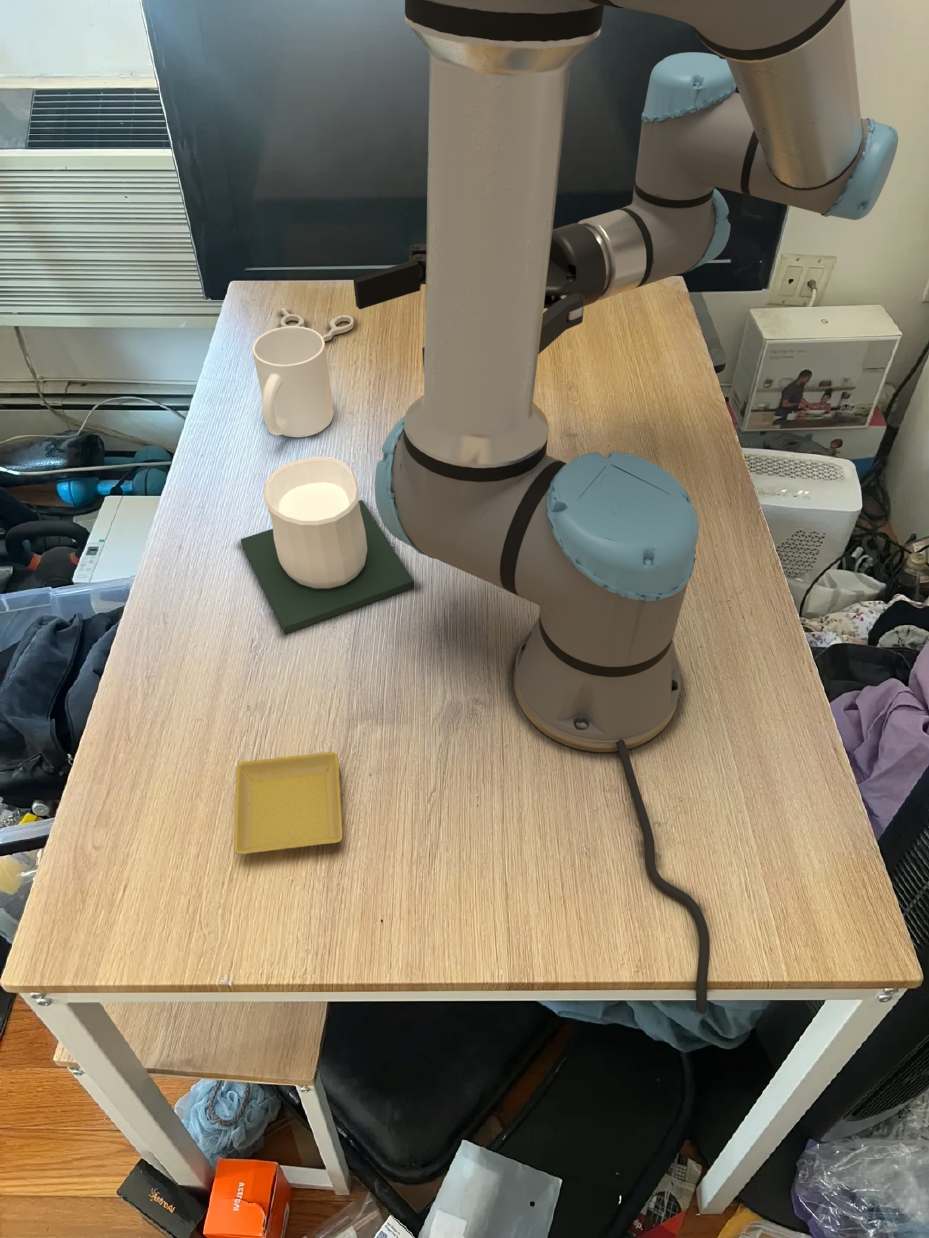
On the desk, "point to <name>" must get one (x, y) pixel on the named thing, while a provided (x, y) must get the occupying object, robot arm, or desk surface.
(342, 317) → the scissors
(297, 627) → the cup mat
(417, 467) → the robot arm
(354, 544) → the cup
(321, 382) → the mug
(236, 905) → the desk surface
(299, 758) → the saucer
